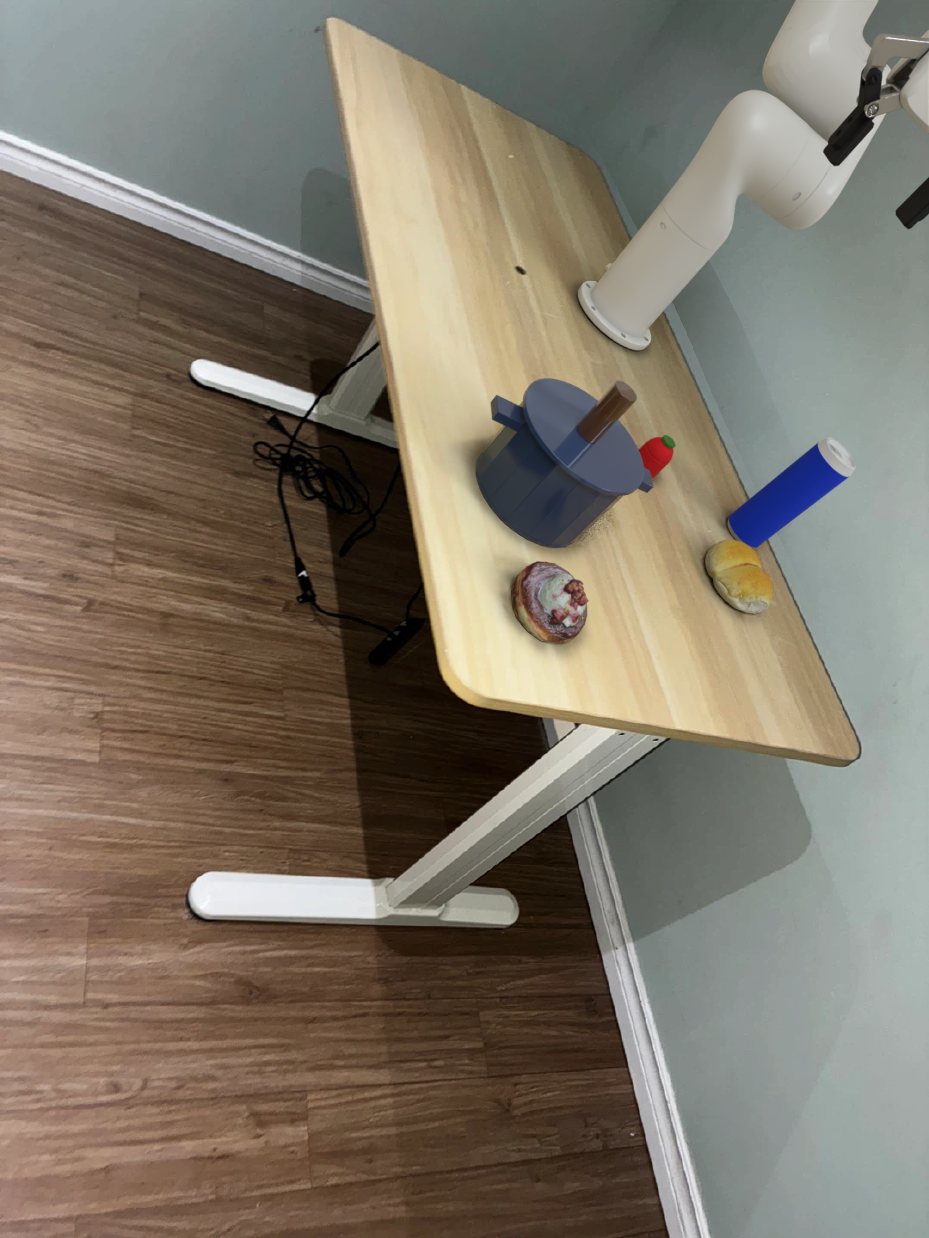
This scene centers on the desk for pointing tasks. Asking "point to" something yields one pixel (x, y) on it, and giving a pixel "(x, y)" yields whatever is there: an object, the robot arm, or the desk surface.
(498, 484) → the pot
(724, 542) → the bread roll
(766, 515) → the beverage can
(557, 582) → the pastry
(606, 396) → the lid
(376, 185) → the desk surface
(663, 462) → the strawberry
